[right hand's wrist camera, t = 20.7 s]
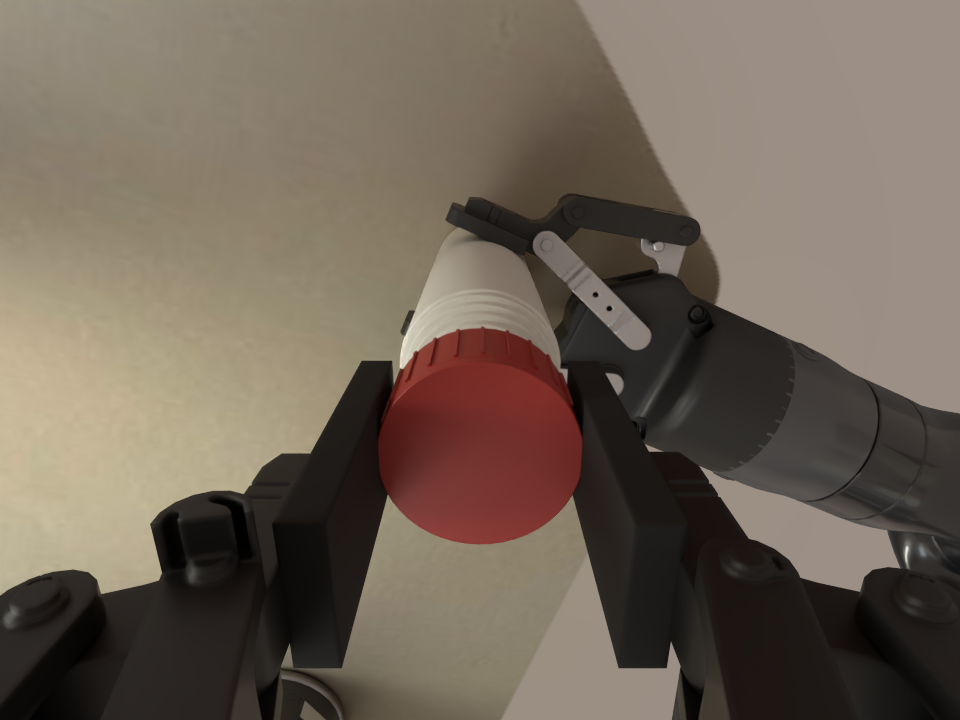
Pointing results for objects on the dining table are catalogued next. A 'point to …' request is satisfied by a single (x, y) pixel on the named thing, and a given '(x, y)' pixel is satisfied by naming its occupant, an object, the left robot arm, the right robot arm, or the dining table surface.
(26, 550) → the dining table surface
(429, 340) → the bottle
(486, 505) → the cap
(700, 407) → the left robot arm
